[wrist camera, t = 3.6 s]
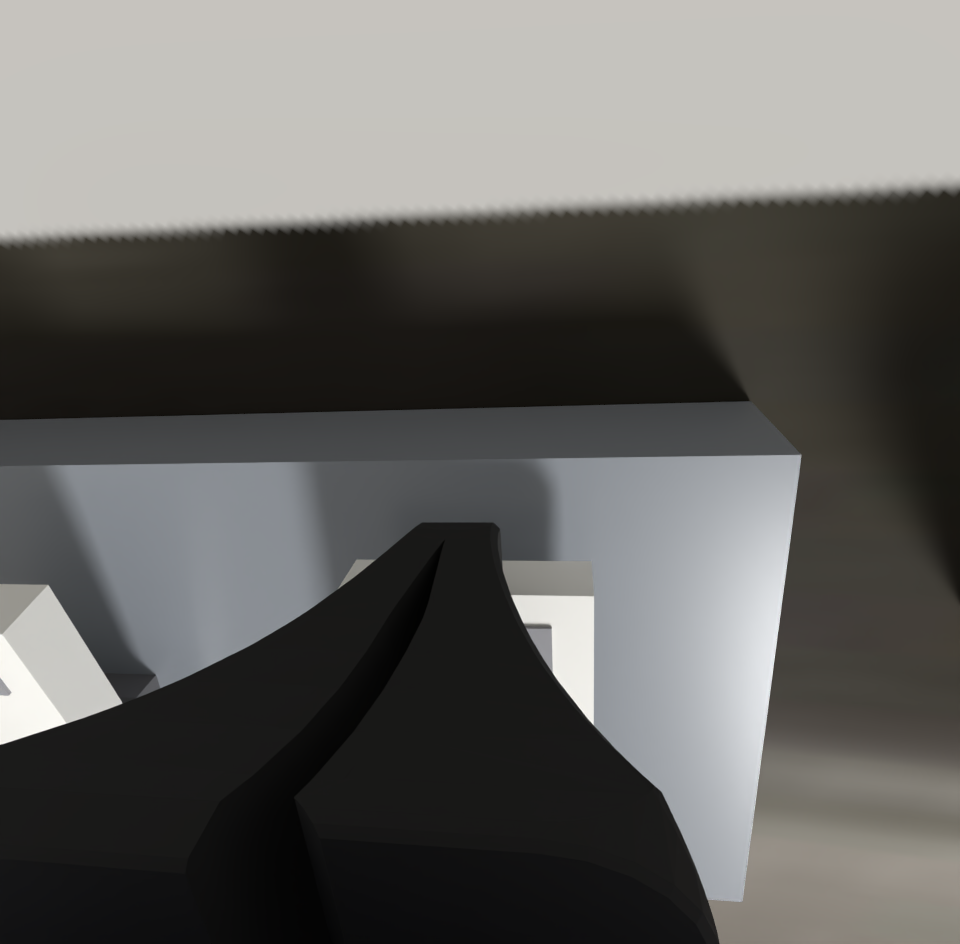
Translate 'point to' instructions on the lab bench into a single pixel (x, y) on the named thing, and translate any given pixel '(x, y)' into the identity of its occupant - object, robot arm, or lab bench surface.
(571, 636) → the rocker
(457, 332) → the lab bench surface
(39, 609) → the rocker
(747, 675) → the switch unit
